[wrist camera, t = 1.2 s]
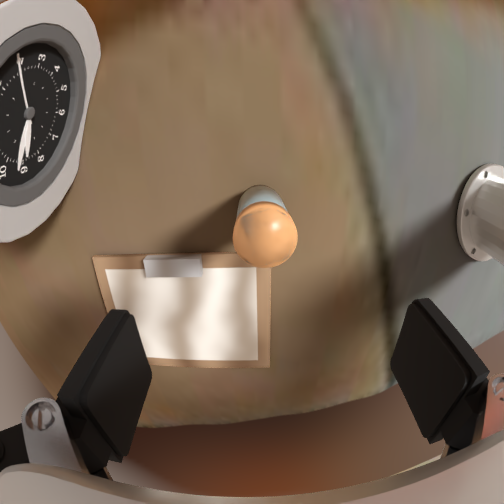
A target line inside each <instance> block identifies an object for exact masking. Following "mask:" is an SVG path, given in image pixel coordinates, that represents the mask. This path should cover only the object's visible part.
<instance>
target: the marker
mask: <svg viewBox="0 0 504 504" xmlns="http://www.w3.org/2000/svg"><path fill="white" fill-rule="evenodd" d="M233 244H234V248H235V250H236V252H237V254H238V255H239V256H240V258H241V259H242V260H244V261H245V262H246V263H248V264H250V265H252V266H255V267H259V268H270V267H274V266H277V265H279V264H281V263H283V262H285V261H286V260H287V259H288V258H289V257H290V256H291V255H292V253H293V252H294V250H295V247H296V244H297V229H296V226H295V224H294V222H293V220H292V218H291V216H290V215H289V213H288V212H287V210H286V208H285V206H284V203H283V201H282V199H281V197H280V196H279V194H278V193H277V192H276V191H275V190H273V189H271V188H270V187H268V186H265V185H255V186H252V187H250V188H249V189H248V190H246V192H245V193H244V194H243V195H242V197H241V198H240V201H239V205H238V211H237V217H236V221H235V225H234V231H233Z"/></svg>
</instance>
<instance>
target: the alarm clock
mask: <svg viewBox="0 0 504 504" xmlns="http://www.w3.org/2000/svg"><path fill="white" fill-rule="evenodd" d="M100 57H101V51H100V43H99V39H98V36H97V32H96V28H95V25H94V23H93V21H92V20H91V18H90V16H89V14H88V13H87V11H86V9H85V8H84V7H83V6H82V5H80V4H79V3H78V2H77V1H75V0H9V1H6V2H4V3H2V4H0V242H11V241H14V240H16V239H18V238H21V237H23V236H25V235H28V234H30V233H31V232H32V231H33V230H34V229H36V228H37V227H38V226H39V225H41V224H42V223H43V222H44V221H46V220H47V218H48V217H49V216H50V215H51V213H52V212H53V211H54V210H55V209H56V207H57V206H58V205H59V204H60V203H61V201H62V199H63V198H64V196H65V194H66V193H67V191H68V189H69V188H70V186H71V184H72V183H73V181H74V179H75V176H76V174H77V172H78V166H79V158H80V150H81V143H82V136H83V130H84V124H85V119H86V114H87V109H88V104H89V99H90V95H91V91H92V86H93V82H94V78H95V75H96V71H97V67H98V64H99V60H100Z"/></svg>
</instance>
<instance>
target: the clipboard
mask: <svg viewBox="0 0 504 504" xmlns="http://www.w3.org/2000/svg"><path fill="white" fill-rule="evenodd" d="M92 259H93V263H94V267H95V271H96V275H97V279H98V283H99V286H100V290H101V293H102V297H103V300H104V303H105V307H106V310H107V313H108V312H109V311H110V310H111V309H122V310H128V311H129V313H130V314H132V315H133V316H134V318H135V321H136V324H137V328H138V331H139V334H140V338H141V341H142V344H143V347H144V350H145V353H146V356H147V359H148V362H149V364H150V365H163V366H179V367H203V368H260V367H270V320H271V267H270V268H259V267H255V266H252V265H250V264H248V263H246V262H245V261H244V260H242V259H241V258H240V256H239V255H238V254H237V252H206V253H163V254H124V255H94V256H93V257H92Z"/></svg>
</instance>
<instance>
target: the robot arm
mask: <svg viewBox="0 0 504 504" xmlns="http://www.w3.org/2000/svg"><path fill="white" fill-rule="evenodd" d="M457 233H458V238H459V242H460V244H461V247H462V248H463V250H464V251H465V253H466V254H468V255H469V256H470V257H472V258H473V259H475V260H477V261H487V260H490V259H492V258H494V259H496V260H497V261H498V262H500V263H501V264H503V265H504V167H502V166H500V165H497V164H485V165H483V166H481V167H480V168H478V169H477V170H476V171H475V172H474V173H473V174H472V175H471V176H470V178H469V180H468V181H467V183H466V185H465V187H464V190H463V192H462V195H461V198H460V201H459V206H458V212H457ZM390 365H391V370H392V372H393V374H394V376H395V378H396V380H397V382H398V384H399V386H400V388H401V390H402V392H403V394H404V396H405V398H406V400H407V402H408V405H409V407H410V409H411V411H412V413H413V415H414V417H415V420H416V422H417V424H418V426H419V429H420V431H421V433H422V435H423V437H425V438H427V439H428V441H429V444H431V443H434V442H437V441H440V440H442V439H443V438H444V440H445V446H444V449H443V452H442V455H441V458H440V459H439V460H436V461H434V462H431V463H429V464H426V465H423V466H421V467H418V468H415V469H412V470H409V471H406V472H403V473H400V474H397V475H394V476H390V477H387V478H383V479H380V480H376V481H372V482H368V483H364V484H360V485H355V486H351V487H346V488H341V489H335V490H329V491H322V492H316V493H308V494H300V495H288V496H274V497H216V496H215V497H214V496H201V495H191V494H182V493H173V492H167V491H160V490H155V489H150V488H144V487H139V486H134V485H129V484H125V483H120V482H116V481H113V479H112V477H111V475H110V473H109V471H108V469H107V467H106V466H107V463H108V460H111V461H115V462H119V463H121V462H122V459H123V456H127V454H128V453H129V450H130V446H131V443H132V440H133V436H134V433H135V430H136V426H137V423H138V420H139V417H140V413H141V410H142V407H143V404H144V401H145V398H146V395H147V392H148V389H149V386H150V383H151V379H152V371H151V368H150V365H149V362H148V359H147V356H146V353H145V350H144V347H143V344H142V341H141V338H140V334H139V331H138V328H137V324H136V321H135V318H134V316H133V315H132V314H130V313H129V311H128V310H122V309H111V310H110V311H109V312H108V314H107V315H106V317H105V318H104V320H103V321H102V323H101V324H100V326H99V327H98V329H97V330H96V332H95V333H94V335H93V337H92V338H91V340H90V341H89V343H88V344H87V346H86V348H85V349H84V351H83V352H82V354H81V356H80V357H79V359H78V360H77V362H76V364H75V365H74V367H73V369H72V370H71V372H70V374H69V375H68V377H67V379H66V380H65V382H64V384H63V386H62V387H61V389H60V391H59V393H58V394H57V396H58V398H57V400H56V402H55V401H54V400H52V399H49V398H39V399H36V400H34V401H32V402H31V403H29V404H28V405H27V406H26V408H25V409H24V411H23V414H22V423H20V424H18V425H15V426H13V427H10V428H8V429H5V430H3V431H0V504H504V374H501V373H500V374H495V375H493V376H492V377H491V378H490V380H488V379H487V378H486V377H487V376H488V374H489V372H490V371H489V370H488V368H487V367H486V366H485V364H484V363H483V362H482V360H481V359H480V358H479V357H478V355H477V354H476V353H475V352H474V350H473V349H472V348H471V346H470V345H469V344H468V343H467V341H466V340H465V339H464V338H463V337H462V335H461V334H460V333H459V332H458V331H457V329H456V328H455V327H454V326H453V325H452V323H451V322H450V321H449V320H448V319H447V318H446V316H445V315H444V314H443V313H442V312H441V311H440V310H439V309H438V307H437V306H436V305H435V304H434V303H433V302H432V301H431V300H430V299H429V298H424V299H415V300H413V302H412V304H410V305H409V306H408V309H407V312H406V316H405V319H404V322H403V326H402V329H401V332H400V335H399V338H398V341H397V344H396V347H395V350H394V353H393V356H392V358H391V363H390Z"/></svg>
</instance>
